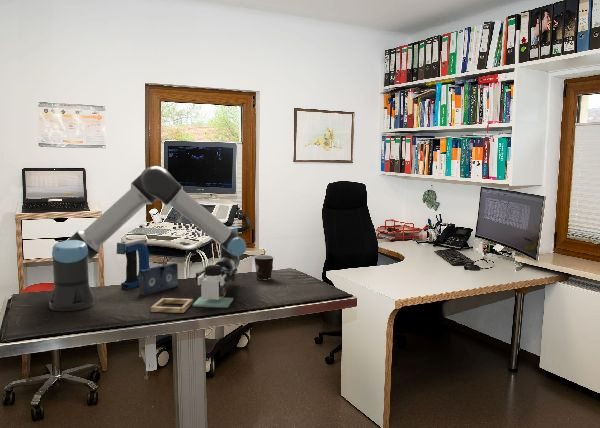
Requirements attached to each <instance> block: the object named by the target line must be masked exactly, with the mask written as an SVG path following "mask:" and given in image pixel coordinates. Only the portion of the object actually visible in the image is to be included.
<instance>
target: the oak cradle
mask: <svg viewBox="0 0 600 428" xmlns="http://www.w3.org/2000/svg"><path fill="white" fill-rule="evenodd" d="M164 304H175V305H177V304H178V305H179V304H180V305H182V306H181V307H180V306H163V305H164ZM193 304H194V299H193V298H174V297H171V298H169V297H168V298H166V297H162V298H161V299H159V300H157V302H155V303H154V304H153V305H152V306H150V312H151V313H155V312H156V313H173V314H175V313H177V314H179V313H180V314H181V313H182V314H183V313H185V312H186V311H187V310H188V309H189V308H190V307H191V306H193Z"/></svg>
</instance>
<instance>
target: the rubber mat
mask: <svg viewBox="0 0 600 428" xmlns="http://www.w3.org/2000/svg"><path fill="white" fill-rule="evenodd" d="M233 301H234V298H233V297H222V298H221V299H219V300H215V299H202V298H201V296H199V297H198V298H197V299H196V300H195V302H193V304H192V307H200V308H202V307H203V308H228V307H230V305H231V303H232V302H233Z"/></svg>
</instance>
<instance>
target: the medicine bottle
mask: <svg viewBox="0 0 600 428" xmlns="http://www.w3.org/2000/svg"><path fill="white" fill-rule="evenodd" d="M204 268H205V277H206V278H204V279H203V280H201V287H200V291H201V293H200V294H201V296H200V297H201V298H202V299H215V300H219V299H221V298H224V297H225V295H226V282H225V283H224V285H223V286H220V278H221V266H219V265H215V264H209V265H207V266H205V267H204Z"/></svg>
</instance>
